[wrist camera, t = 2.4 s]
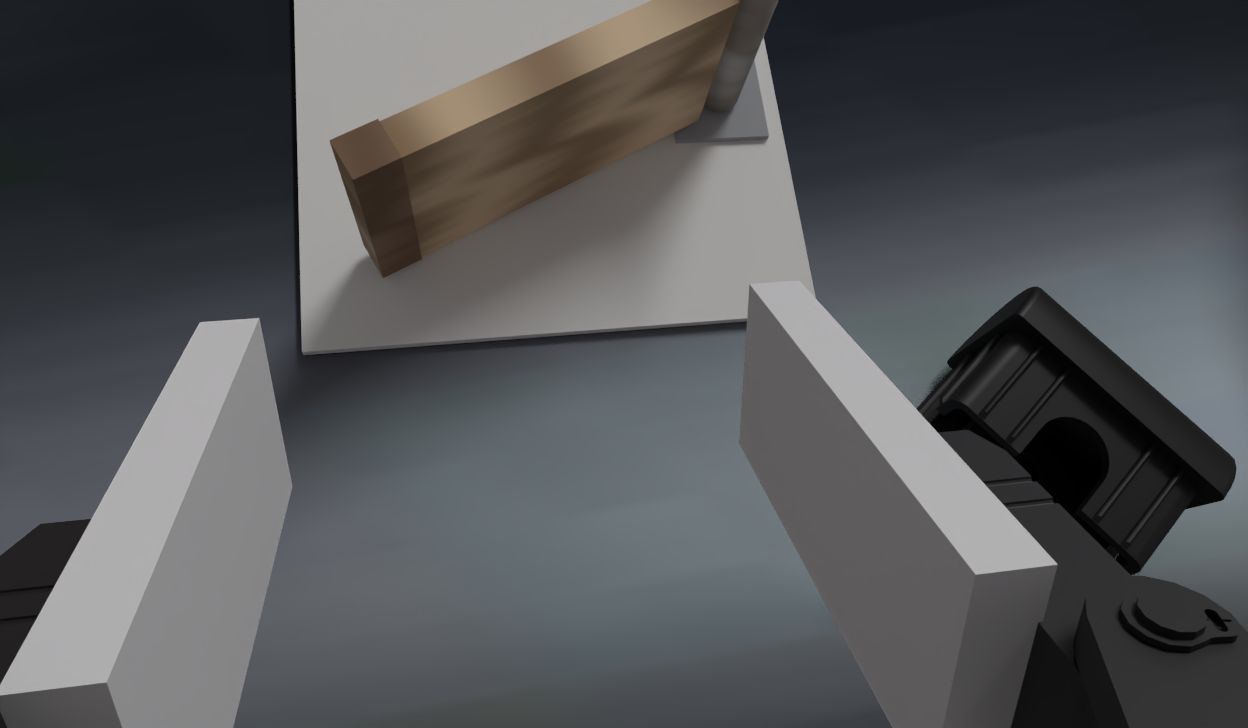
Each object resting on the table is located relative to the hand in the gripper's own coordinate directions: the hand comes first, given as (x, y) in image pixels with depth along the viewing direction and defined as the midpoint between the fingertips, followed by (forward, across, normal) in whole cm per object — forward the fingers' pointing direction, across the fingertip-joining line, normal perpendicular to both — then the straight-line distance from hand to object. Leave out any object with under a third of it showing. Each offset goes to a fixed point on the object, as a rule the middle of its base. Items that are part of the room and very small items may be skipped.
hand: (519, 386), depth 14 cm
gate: (+29, +4, -5) cm, 29 cm away
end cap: (+19, +22, -16) cm, 34 cm away
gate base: (+32, +3, -3) cm, 32 cm away
